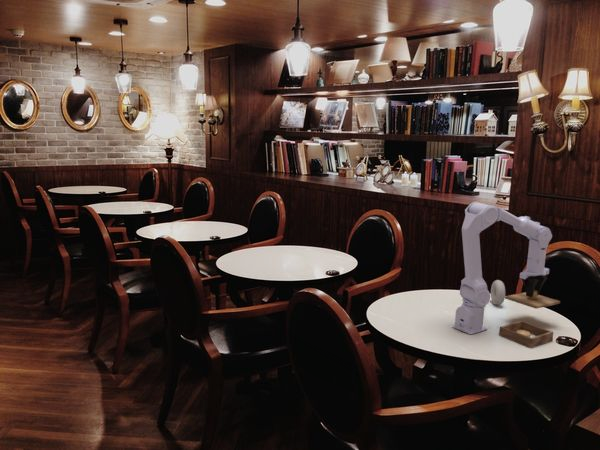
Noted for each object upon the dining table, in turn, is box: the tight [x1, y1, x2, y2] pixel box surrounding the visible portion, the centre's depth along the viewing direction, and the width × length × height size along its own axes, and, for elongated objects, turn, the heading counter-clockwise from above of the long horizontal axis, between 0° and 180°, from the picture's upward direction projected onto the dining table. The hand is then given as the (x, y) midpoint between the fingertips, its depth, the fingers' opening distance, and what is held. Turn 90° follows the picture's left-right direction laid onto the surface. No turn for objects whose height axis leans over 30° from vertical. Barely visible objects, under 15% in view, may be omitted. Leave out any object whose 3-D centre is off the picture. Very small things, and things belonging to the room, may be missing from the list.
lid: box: [504, 290, 561, 310], centre depth 191 cm, size 13×13×4 cm
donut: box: [490, 279, 506, 306], centre depth 211 cm, size 10×4×10 cm, turn 177°
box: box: [498, 320, 554, 349], centre depth 178 cm, size 12×12×3 cm
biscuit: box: [516, 330, 531, 337], centre depth 182 cm, size 4×4×1 cm
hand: (532, 295), depth 191 cm, fingers closed on lid, 3 cm apart
